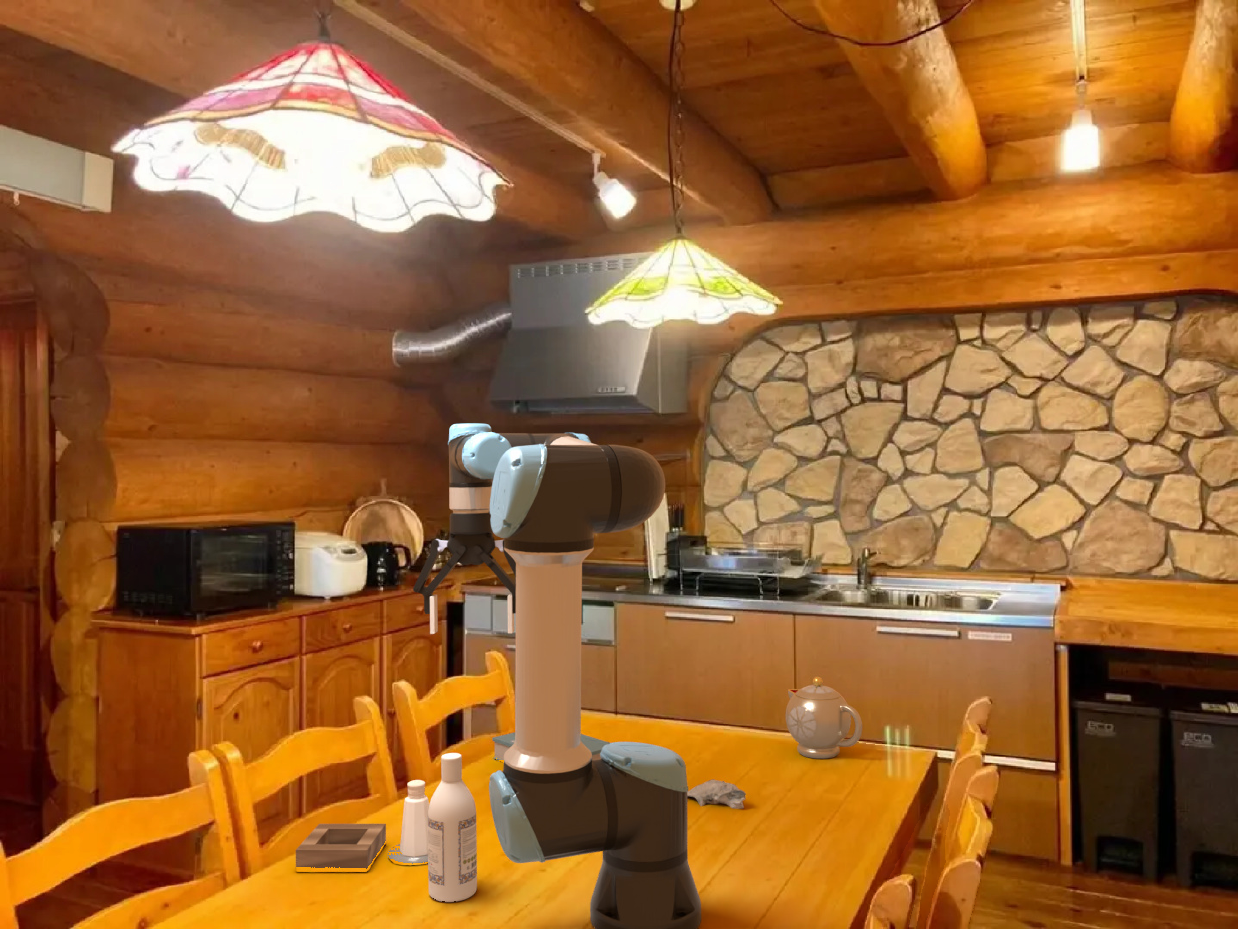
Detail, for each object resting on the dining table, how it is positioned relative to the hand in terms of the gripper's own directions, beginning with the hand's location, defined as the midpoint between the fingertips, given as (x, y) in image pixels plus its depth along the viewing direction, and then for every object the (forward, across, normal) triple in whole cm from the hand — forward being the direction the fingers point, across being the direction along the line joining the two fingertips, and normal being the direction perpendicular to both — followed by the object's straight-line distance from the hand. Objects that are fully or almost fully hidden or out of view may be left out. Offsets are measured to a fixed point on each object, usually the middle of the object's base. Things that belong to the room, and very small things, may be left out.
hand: (472, 632), depth 174 cm
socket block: (+33, +18, +18) cm, 41 cm away
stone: (+33, -43, -9) cm, 55 cm away
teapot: (+33, -68, -37) cm, 84 cm away
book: (+33, -12, -32) cm, 48 cm away
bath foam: (+33, -2, +30) cm, 45 cm away
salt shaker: (+32, +6, +16) cm, 37 cm away
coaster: (+33, +6, +16) cm, 37 cm away
